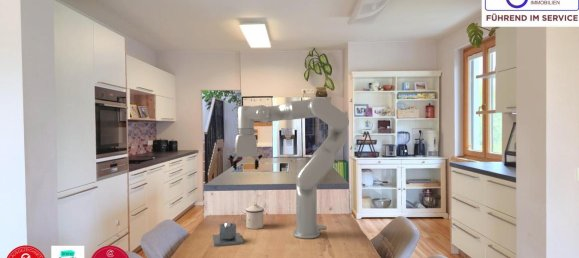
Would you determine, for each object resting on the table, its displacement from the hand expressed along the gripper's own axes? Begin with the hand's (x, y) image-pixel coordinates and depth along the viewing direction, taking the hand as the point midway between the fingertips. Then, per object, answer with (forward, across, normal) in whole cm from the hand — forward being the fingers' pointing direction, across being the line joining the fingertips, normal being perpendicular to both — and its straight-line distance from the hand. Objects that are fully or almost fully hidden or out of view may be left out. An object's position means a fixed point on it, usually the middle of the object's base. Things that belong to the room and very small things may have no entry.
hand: (245, 169), depth 153 cm
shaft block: (+30, +9, +6) cm, 32 cm away
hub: (+28, +9, +6) cm, 30 cm away
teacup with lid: (+31, -5, -12) cm, 33 cm away
